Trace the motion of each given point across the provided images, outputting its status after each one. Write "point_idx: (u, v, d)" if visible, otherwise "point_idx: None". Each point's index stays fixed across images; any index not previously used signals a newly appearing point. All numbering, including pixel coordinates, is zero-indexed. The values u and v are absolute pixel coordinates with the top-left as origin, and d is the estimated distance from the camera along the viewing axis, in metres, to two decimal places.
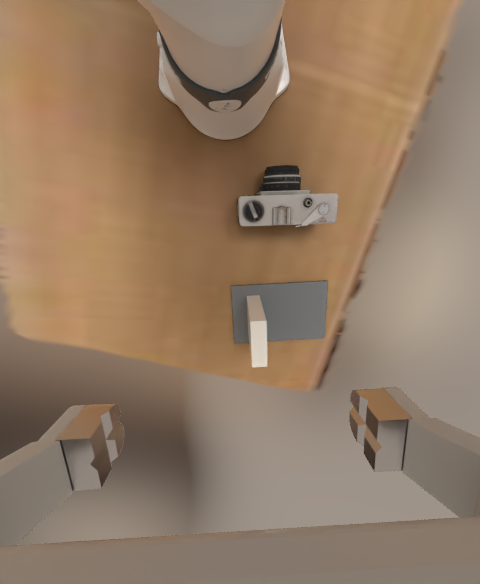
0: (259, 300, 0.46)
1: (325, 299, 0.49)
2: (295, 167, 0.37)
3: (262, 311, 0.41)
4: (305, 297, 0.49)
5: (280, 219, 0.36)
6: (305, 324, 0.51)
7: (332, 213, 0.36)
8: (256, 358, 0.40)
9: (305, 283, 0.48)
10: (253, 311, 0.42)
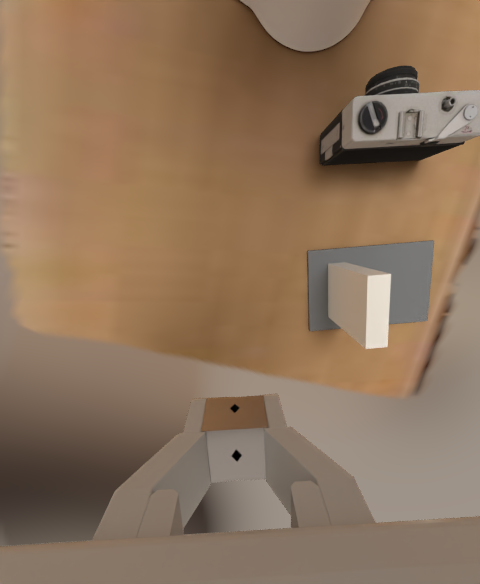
0: (351, 264, 0.34)
1: (430, 266, 0.38)
2: None
3: (371, 269, 0.30)
4: (404, 264, 0.37)
5: (406, 131, 0.26)
6: (403, 302, 0.39)
7: None
8: (372, 334, 0.28)
9: (405, 244, 0.37)
10: (358, 270, 0.30)
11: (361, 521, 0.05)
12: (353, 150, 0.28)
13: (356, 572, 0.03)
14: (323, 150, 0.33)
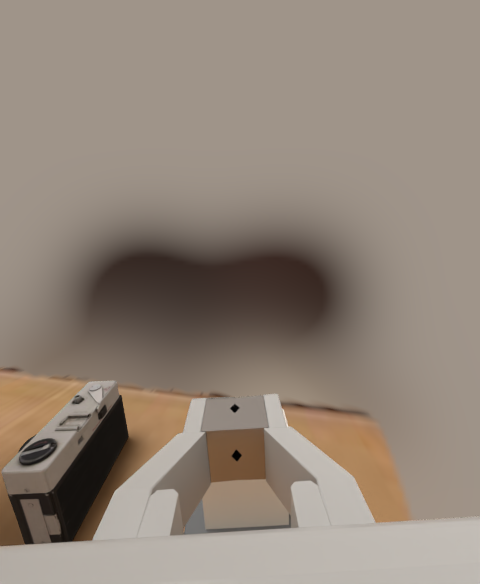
0: None
1: None
2: None
3: None
4: None
5: (77, 424, 0.27)
6: None
7: (105, 383, 0.34)
8: None
9: None
10: None
11: (361, 521, 0.05)
12: (63, 480, 0.24)
13: (356, 572, 0.03)
14: (48, 540, 0.24)
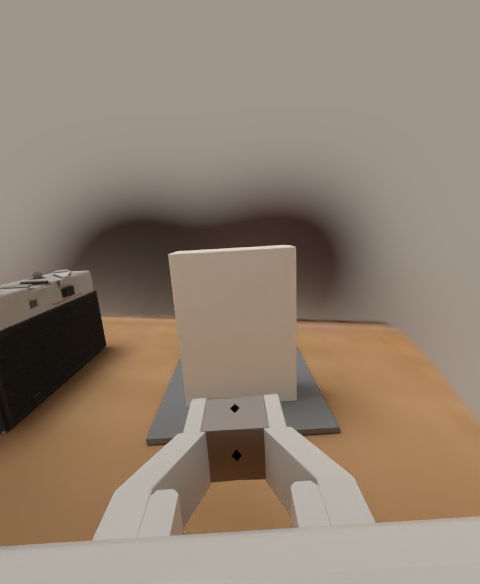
0: None
1: None
2: None
3: None
4: None
5: (30, 288, 0.21)
6: None
7: (76, 271, 0.28)
8: (268, 247, 0.17)
9: None
10: None
11: (361, 521, 0.05)
12: (3, 337, 0.18)
13: (356, 572, 0.03)
14: None
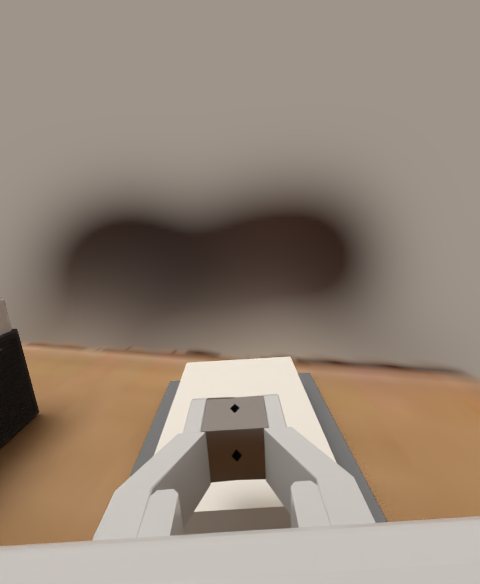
0: None
1: None
2: None
3: None
4: None
5: None
6: None
7: None
8: None
9: (158, 414, 0.18)
10: None
11: (361, 521, 0.05)
12: None
13: (356, 572, 0.03)
14: None
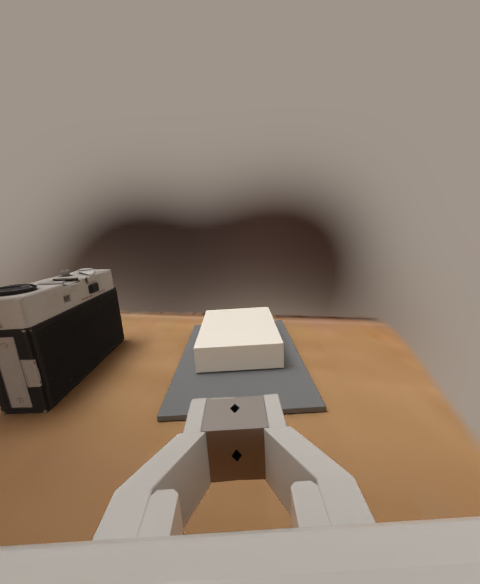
0: None
1: None
2: None
3: None
4: None
5: (63, 284, 0.24)
6: None
7: (98, 270, 0.31)
8: None
9: (191, 337, 0.32)
10: None
11: (361, 521, 0.05)
12: (45, 327, 0.20)
13: (356, 572, 0.03)
14: (26, 396, 0.20)
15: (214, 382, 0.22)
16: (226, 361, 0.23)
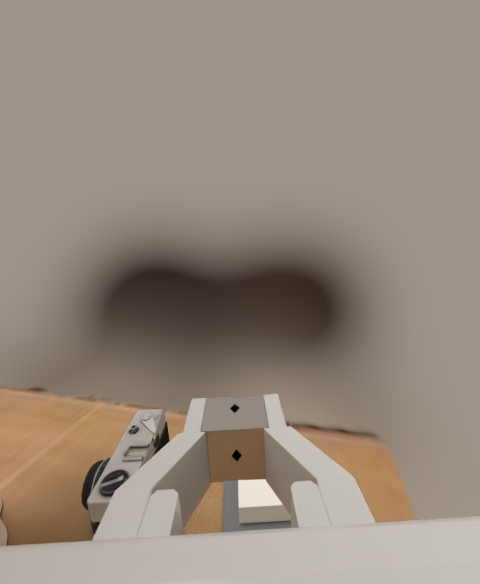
0: None
1: None
2: None
3: None
4: None
5: (139, 455, 0.31)
6: None
7: (153, 411, 0.37)
8: None
9: None
10: None
11: (361, 521, 0.05)
12: None
13: (356, 572, 0.03)
14: None
15: None
16: (263, 515, 0.30)
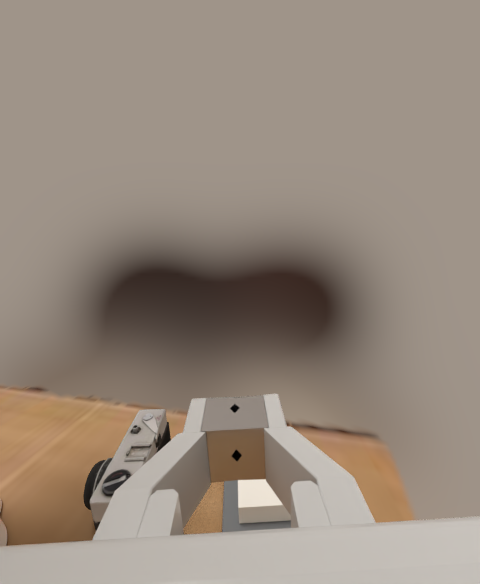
0: None
1: None
2: None
3: None
4: None
5: (141, 454, 0.31)
6: None
7: (155, 411, 0.38)
8: None
9: None
10: None
11: (361, 521, 0.05)
12: None
13: (356, 572, 0.03)
14: None
15: None
16: (263, 515, 0.30)
